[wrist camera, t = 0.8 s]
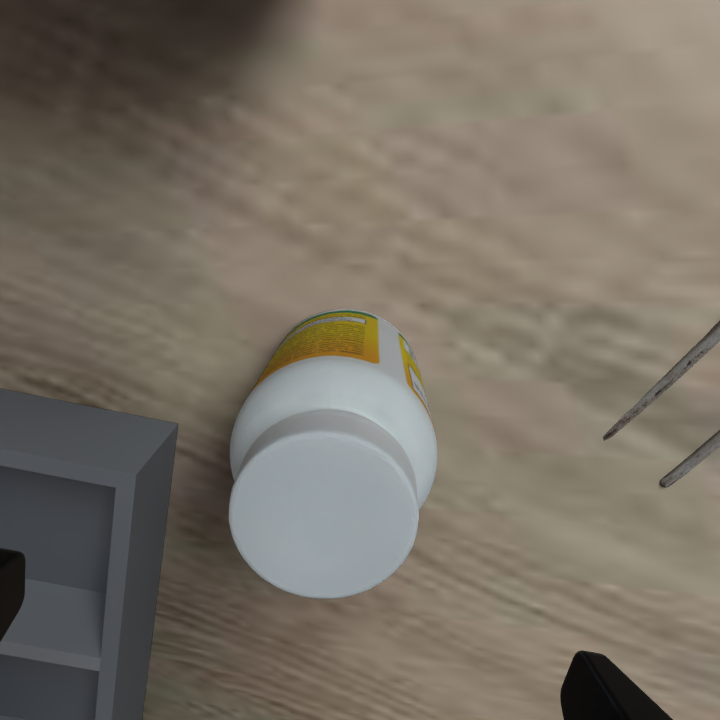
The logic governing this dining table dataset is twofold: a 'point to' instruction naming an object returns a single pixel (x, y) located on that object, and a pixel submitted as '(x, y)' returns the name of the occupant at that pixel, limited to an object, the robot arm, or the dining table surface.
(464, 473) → the dining table surface
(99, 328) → the dining table surface
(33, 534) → the slot holder
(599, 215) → the dining table surface
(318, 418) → the supplement bottle
